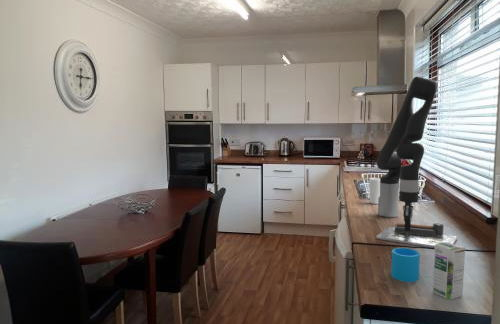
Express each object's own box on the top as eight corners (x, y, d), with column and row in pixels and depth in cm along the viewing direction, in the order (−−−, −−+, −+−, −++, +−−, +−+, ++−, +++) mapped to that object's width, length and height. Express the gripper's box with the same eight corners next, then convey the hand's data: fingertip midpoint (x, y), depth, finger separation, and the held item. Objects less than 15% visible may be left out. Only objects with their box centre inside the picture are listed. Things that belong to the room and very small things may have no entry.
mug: (422, 282, 118) (423, 257, 117) (394, 281, 119) (394, 256, 118) (411, 268, 130) (412, 244, 129) (386, 267, 131) (387, 243, 130)
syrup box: (431, 292, 111) (433, 243, 110) (445, 288, 114) (447, 240, 112) (449, 300, 106) (451, 249, 105) (463, 296, 109) (466, 246, 107)
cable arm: (442, 232, 165) (442, 223, 164) (443, 236, 159) (444, 226, 159) (395, 228, 172) (395, 219, 171) (394, 231, 166) (395, 222, 166)
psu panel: (376, 238, 162) (376, 235, 162) (388, 228, 177) (388, 226, 177) (450, 250, 146) (450, 247, 146) (457, 238, 161) (457, 236, 160)
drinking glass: (380, 202, 232) (381, 178, 230) (380, 205, 226) (381, 179, 224) (369, 202, 234) (369, 177, 233) (368, 204, 228) (369, 179, 226)
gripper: (417, 192, 154) (416, 235, 156) (419, 189, 166) (418, 228, 167) (397, 191, 158) (396, 233, 159) (401, 187, 170) (399, 226, 171)
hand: (407, 230), depth 163 cm, fingers closed
